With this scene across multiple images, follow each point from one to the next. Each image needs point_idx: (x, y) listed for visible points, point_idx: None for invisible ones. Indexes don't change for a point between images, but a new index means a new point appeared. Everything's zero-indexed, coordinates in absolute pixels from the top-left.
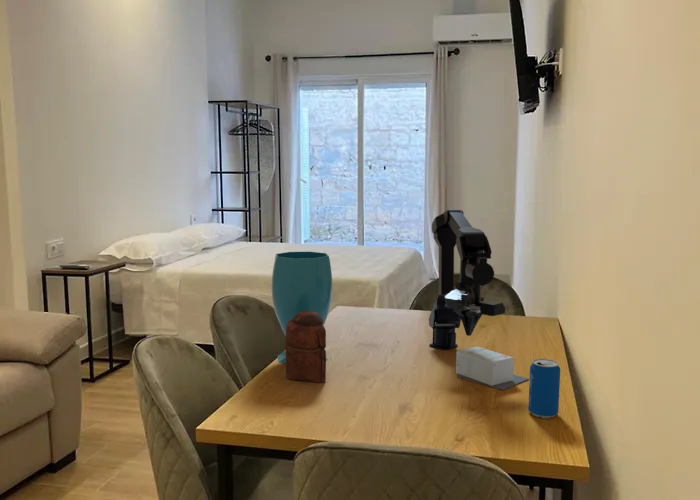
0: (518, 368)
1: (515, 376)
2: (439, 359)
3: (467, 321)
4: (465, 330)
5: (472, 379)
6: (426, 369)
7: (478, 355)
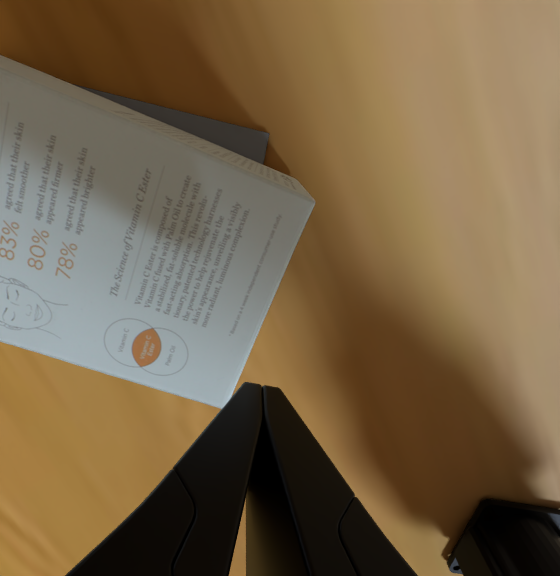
0: (84, 444)
1: None
2: (468, 369)
3: (276, 563)
4: (292, 417)
5: (161, 121)
6: (486, 167)
7: (69, 158)
